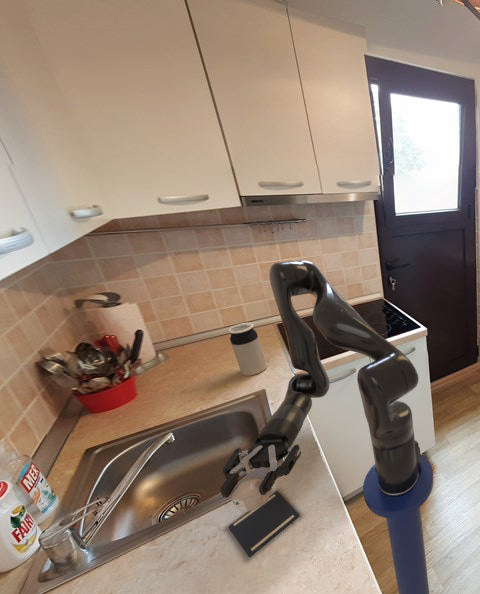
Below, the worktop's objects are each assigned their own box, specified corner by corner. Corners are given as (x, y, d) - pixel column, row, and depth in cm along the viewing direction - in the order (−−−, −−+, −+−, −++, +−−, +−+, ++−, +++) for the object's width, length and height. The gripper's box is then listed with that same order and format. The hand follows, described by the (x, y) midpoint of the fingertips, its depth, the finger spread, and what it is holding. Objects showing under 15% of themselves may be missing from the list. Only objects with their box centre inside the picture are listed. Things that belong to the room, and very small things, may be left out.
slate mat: (277, 491, 77) (276, 490, 77) (299, 516, 72) (299, 514, 72) (228, 527, 70) (227, 526, 70) (249, 557, 64) (248, 556, 64)
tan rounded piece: (240, 525, 64) (228, 498, 61) (233, 503, 69) (221, 476, 65) (278, 502, 69) (268, 475, 66) (269, 482, 73) (259, 456, 70)
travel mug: (264, 373, 120) (251, 330, 113) (238, 378, 118) (223, 334, 111) (268, 362, 127) (256, 320, 120) (245, 366, 125) (231, 324, 118)
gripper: (247, 418, 77) (197, 483, 62) (310, 415, 79) (276, 477, 63) (255, 442, 80) (210, 509, 65) (316, 438, 82) (285, 503, 66)
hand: (243, 493), depth 64 cm, fingers closed on tan rounded piece, 6 cm apart
